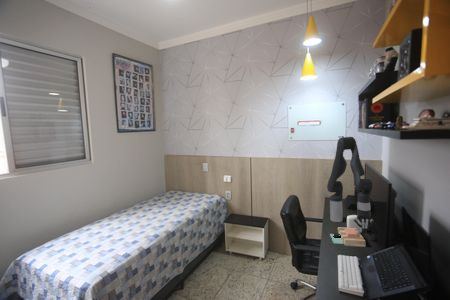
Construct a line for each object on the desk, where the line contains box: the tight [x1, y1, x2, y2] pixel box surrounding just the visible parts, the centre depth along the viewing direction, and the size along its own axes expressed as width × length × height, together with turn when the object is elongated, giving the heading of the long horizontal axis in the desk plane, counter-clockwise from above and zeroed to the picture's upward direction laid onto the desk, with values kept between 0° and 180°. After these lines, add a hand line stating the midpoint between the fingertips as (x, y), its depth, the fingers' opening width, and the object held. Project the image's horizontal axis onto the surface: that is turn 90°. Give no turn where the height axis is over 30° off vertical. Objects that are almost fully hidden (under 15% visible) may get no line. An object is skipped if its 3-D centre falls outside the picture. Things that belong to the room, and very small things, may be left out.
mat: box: [329, 233, 344, 245], centre depth 157 cm, size 14×6×1 cm, turn 165°
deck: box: [337, 226, 367, 248], centre depth 156 cm, size 20×12×4 cm, turn 165°
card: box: [344, 227, 358, 237], centre depth 155 cm, size 9×6×2 cm, turn 165°
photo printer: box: [346, 214, 362, 233], centre depth 167 cm, size 10×4×12 cm, turn 81°
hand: (364, 233), depth 153 cm, fingers closed
